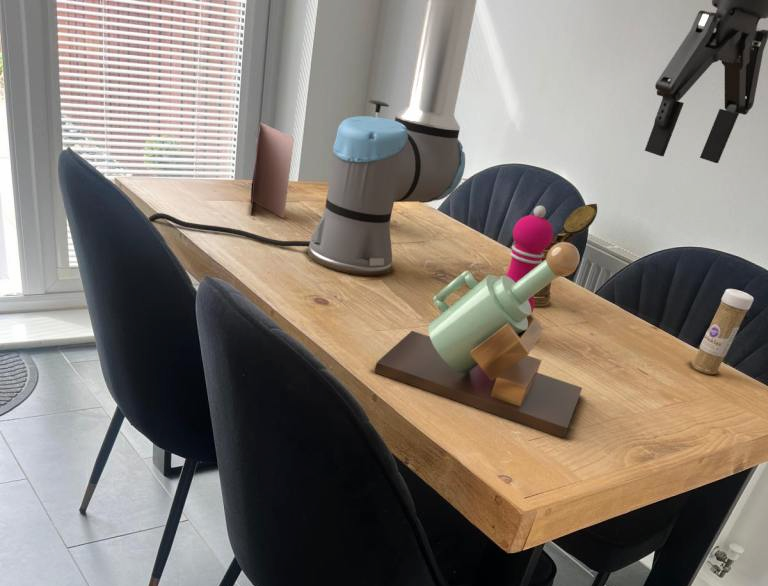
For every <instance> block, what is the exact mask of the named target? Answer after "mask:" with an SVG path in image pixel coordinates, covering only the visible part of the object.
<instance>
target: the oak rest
mask: <svg viewBox="0 0 768 586" xmlns="http://www.w3.org/2000/svg"><path fill="white" fill-rule="evenodd" d="M527 320H528V328H527V329H526V330H525V331H524V332H522V333H521V334H520V335H517V334H516V332H515V331H514V330H513V328H512V327H511V326H510V325H509V323H507V324H506V325H505V326H503V327H502V328H501V329H499V330H498V331H497V332H495V333H494V334H493V335H491V336H490V337H489V338H488V339H486V340H485V341H484V342H482V343H481V344H480V345H478V346H477V347H476V348H474V349H473V350H472V351H471V352H470V354H471V356H472V357H473V358H474V359H475V361H476V362H477V363H478V364H479V366H480V367H481V368H482V370H483V371H484V372H485V373H486V375H487V376H488V377H489V378H490V380H491V381H492V380H493V379H495V378H496V377H497V378H496V381H495V384H494V388H493V391H492V394H491V397H493V398H496V399H499V400H502V401H504V402H507V403H510V404H513V405H516V406H519V407H520V406H521V404H522V402H523V400H524V399H525V397H526V395H527V393H528V391H529V389H530V387H531V385H532V384H533V382H534V380H535V378H536V375H537V373H539V369H540V366H541V364H542V359H539V358H537V357H534V356H531V355H529V354H530V353H531V351H532V349H533V347H534V346H535V344H536V342H537V341H538V339H539V338H540V336H541V335H542V332H543V331H544V330H545V329H544V326H542V325H541V322H540V321H539V320H538V319H537V318H536V316H535V315H534V313H532V312H531V315H529V316H528V317H527Z"/></svg>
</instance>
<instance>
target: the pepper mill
mask: <svg viewBox="0 0 768 586" xmlns="http://www.w3.org/2000/svg"><path fill="white" fill-rule="evenodd" d="M546 214H547V210H546V208H545V206H543V205H537V206H535V208H534V209H533V214H529V215H525V216H523V217H521V218H519V220H518V221H517V222H516V224H515V225H514V227H513V229H512V230H513V231H512V238H513V241H514V244H513V245H512V246H511V250H510V252H509V255H510V256H511V258H510V259H511V260H510V265H509V268H508V270H507V273H506V274H505V276H508V277H509V278H511V279H512V280H513V281H514V282H515V283H516V282H518V281H519V280H520V279H521V278H523V277H524V276H525V275H526V274H528V273H529V272H530V271H532V270H533V269H534V268H535V267H537V265H538V264H539V263H541V262H542V257H543V256H544V254H543V252H542V251H543V250H544V249H546V248H547V247H548V246H549V245H550V243H551V241H552V238H554V228H553V226H552V224H551V222H549V220H547V218H545V216H546ZM528 301H529V303H530V306H531V311H532V314H534V313H533V312H534V308H535V306H534V296H532V297H531V298H529V299H528Z"/></svg>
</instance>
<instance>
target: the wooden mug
mask: <svg viewBox="0 0 768 586" xmlns="http://www.w3.org/2000/svg"><path fill="white" fill-rule="evenodd" d="M597 214H598V204H597V203H590V204H585V205H583V206H580V207H577V208H576V209H575V210H573V211H572V212H571V213H570V214H569V215H568V216H567V218H566V219H565V220H564V223H563V226H562V231H561V232H560V233H556V234H555V235H554V236H553V238H552V241H551V243H550V245H549V246H548V247H547V248H546V249H544V250H543V251H542V252H543V254H544V256H543V257H542V262H543V261H544V260H545V259H546V256H547V253H548V251H549V250H550V249H551V248H552V247H553V246H554V245H555V244H558V243H561V242H567V243H570V244H572V243H573V240H572V239H573V237H574V236H578V235H580V234H581V233H583V232H585V231H586V230H588V228H590V226H591V225H592V224H593V223H594V222H595V220H596V217H597ZM572 245H573V244H572ZM542 262H541V263H542ZM539 264H540V263H539ZM539 264H538V265H539ZM538 265H537V266H538ZM551 286H552V282H550V283H549V284H548V285H547V286H545V287H544V288H543V289H541V290H540V291H539V292H537V293H536V294H535V295H533V296H534V307H545V306H548V305H549V304H550V300H551Z"/></svg>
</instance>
